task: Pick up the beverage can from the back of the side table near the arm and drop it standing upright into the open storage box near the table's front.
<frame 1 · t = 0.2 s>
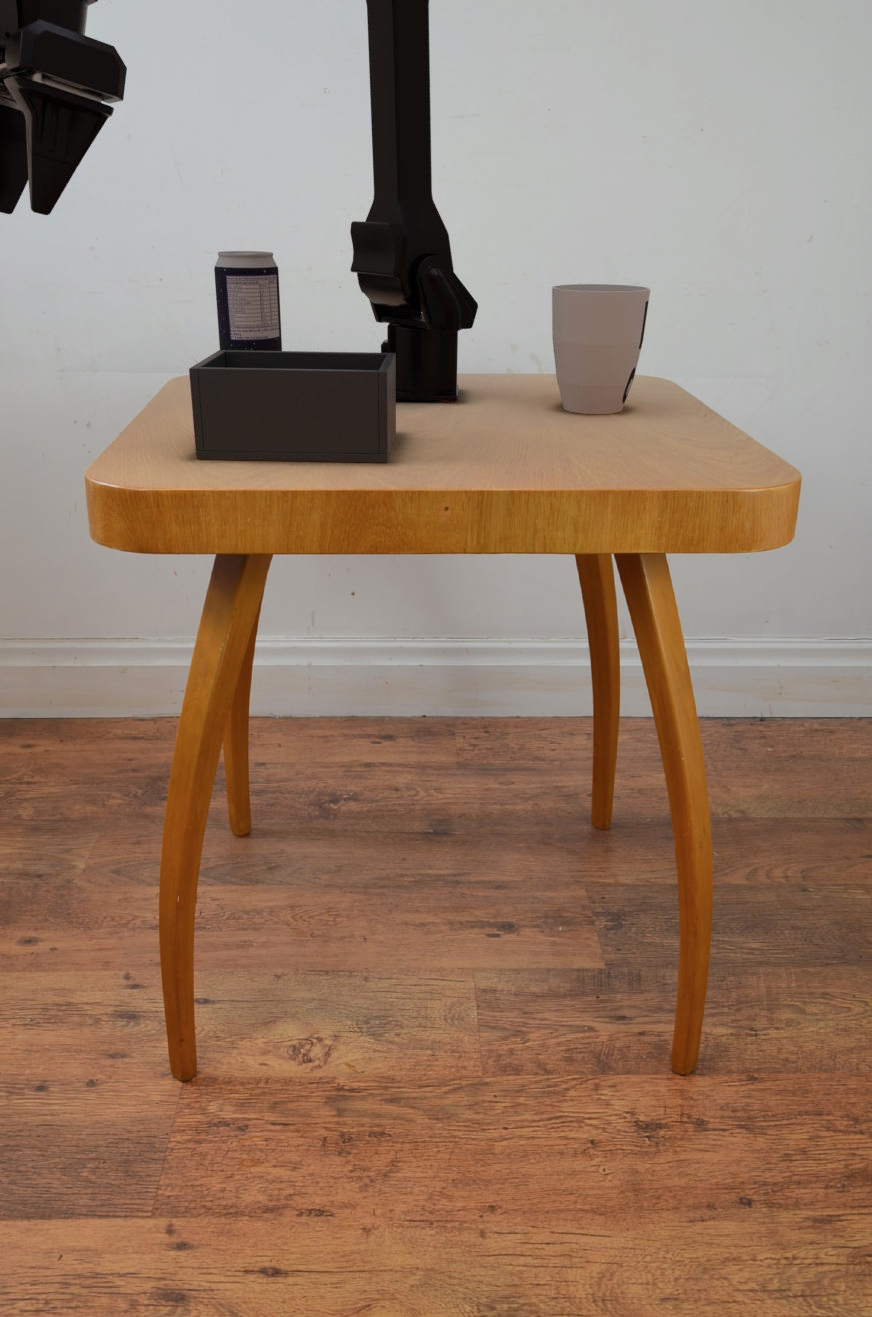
hand: (20, 213, 70), 15 cm above the table, tool pointing down, fingers open, 9 cm apart
beverage can: (253, 391, 98), on the table
open storage box: (301, 446, 76), on the table
cup: (592, 411, 91), on the table
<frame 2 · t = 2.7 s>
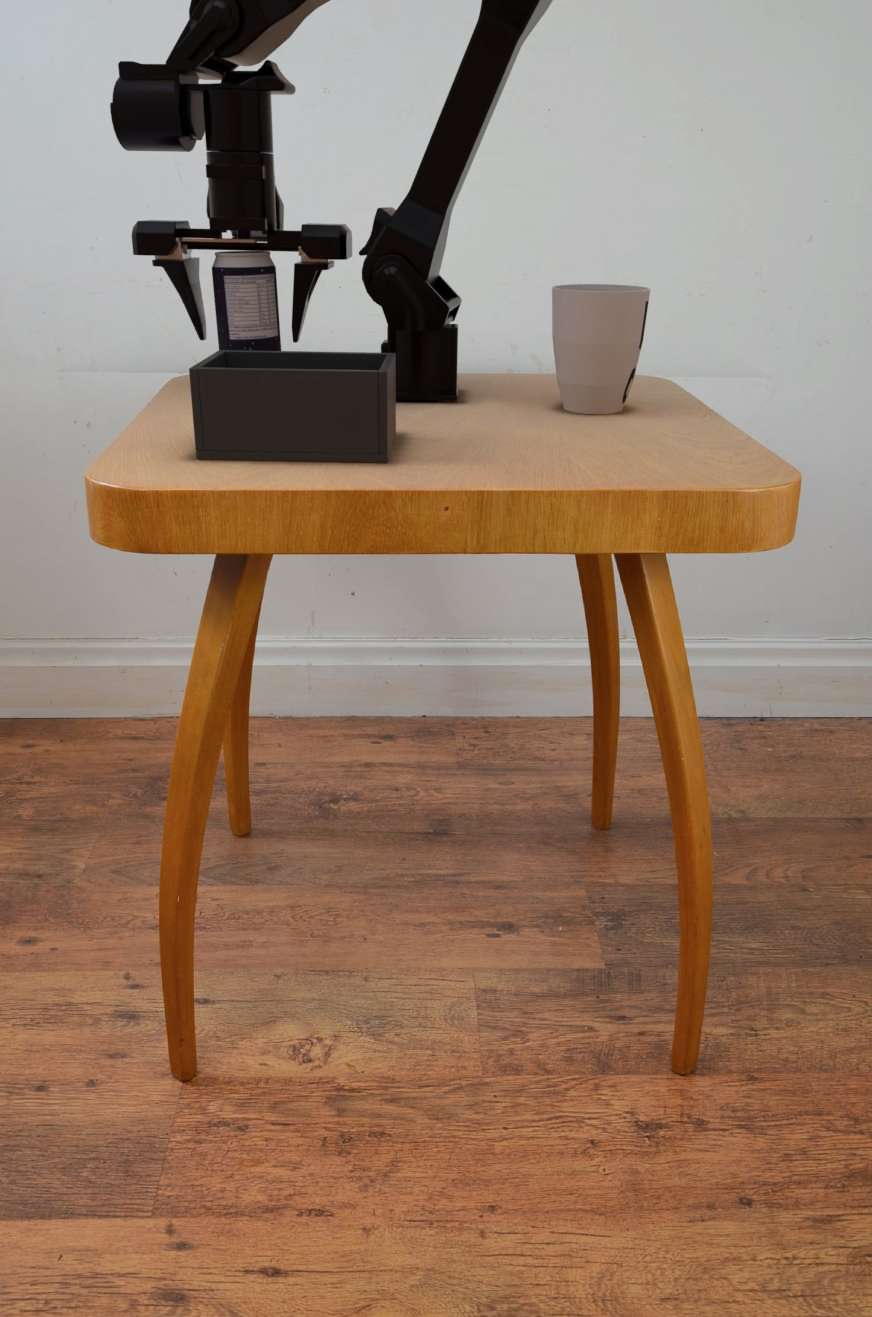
hand: (249, 340, 96), 4 cm above the table, tool pointing down
beverage can: (253, 391, 98), on the table, touching gripper
everything else where it was.
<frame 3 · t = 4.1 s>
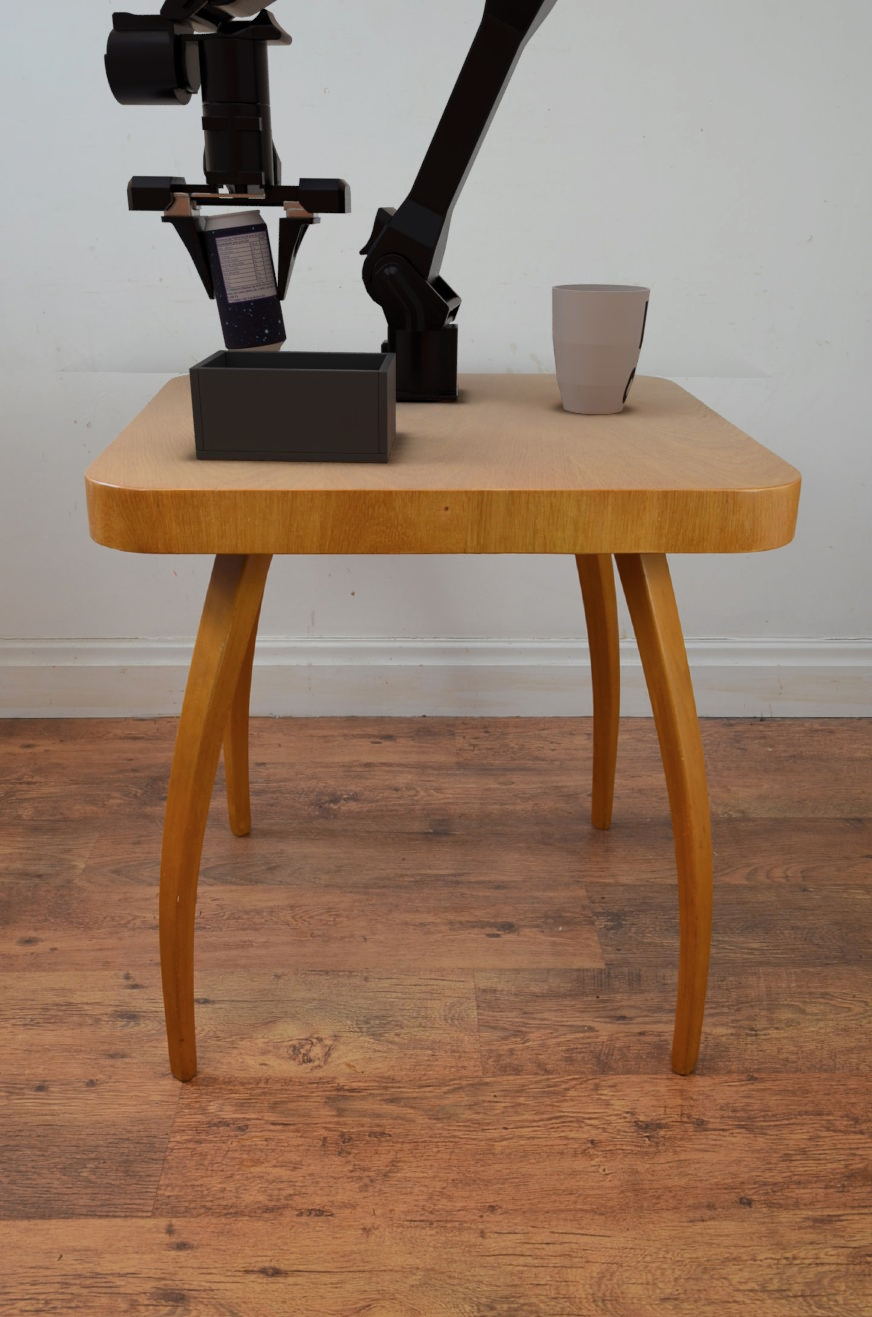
hand: (247, 299, 94), 8 cm above the table, tool pointing down, fingers closed on beverage can, 6 cm apart
beverage can: (258, 355, 96), point 3 cm above the table, touching gripper
everything else where it was.
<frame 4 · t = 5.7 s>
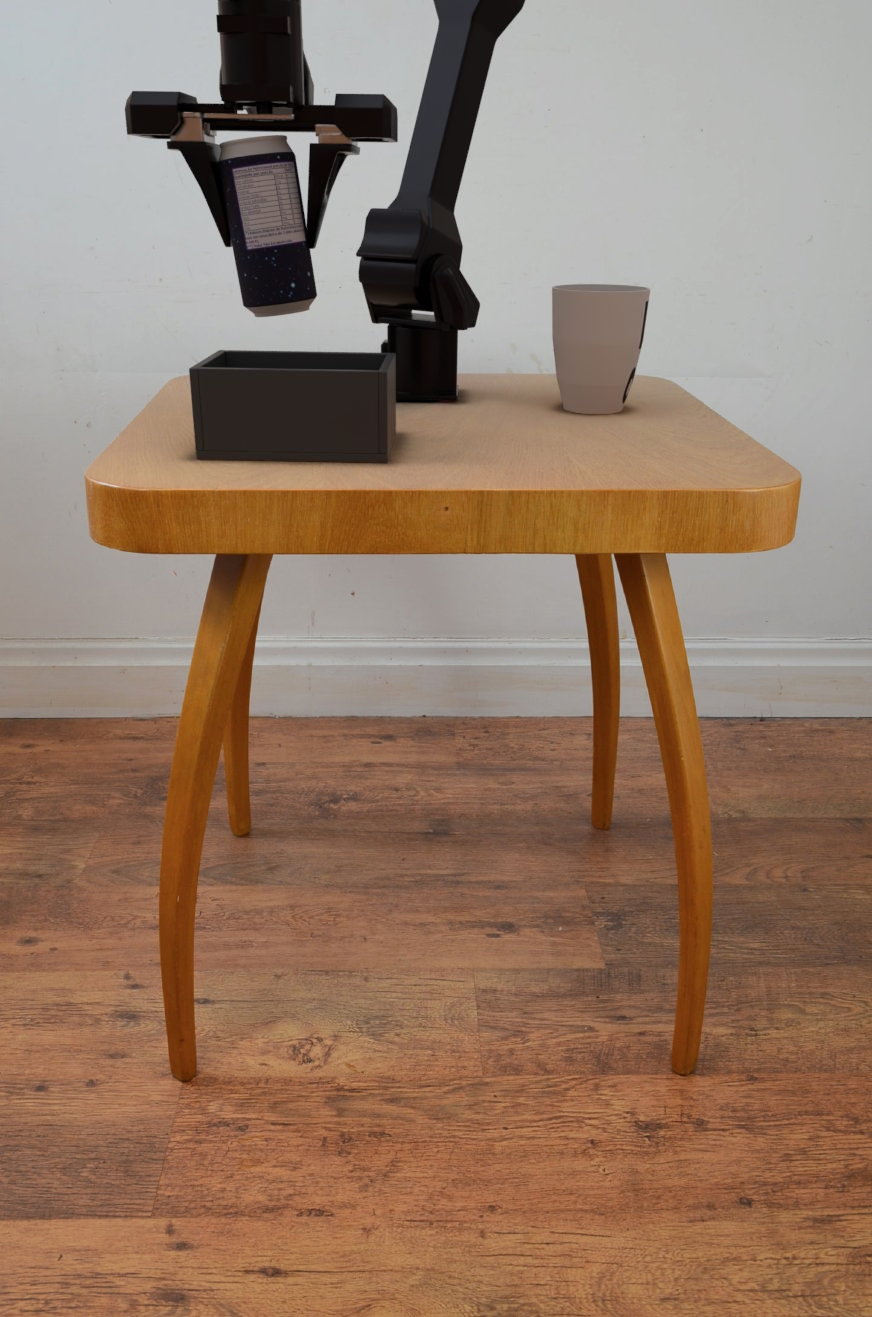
hand: (270, 247, 78), 13 cm above the table, tool pointing down, fingers closed on beverage can, 6 cm apart
beverage can: (282, 315, 80), point 8 cm above the table, touching gripper
everything else where it was.
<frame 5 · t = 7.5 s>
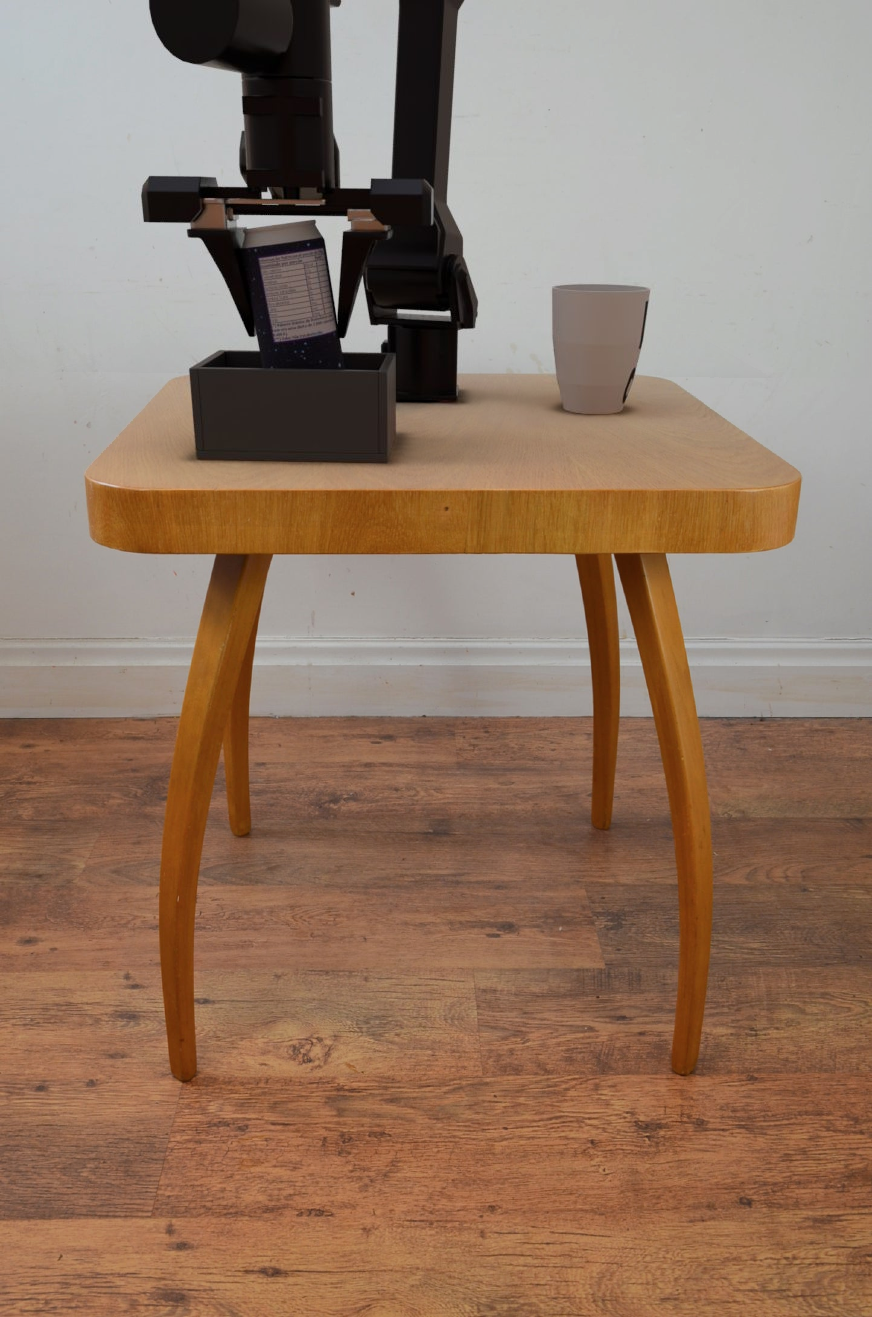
hand: (297, 336, 73), 8 cm above the table, tool pointing down, fingers closed on beverage can, 6 cm apart
beverage can: (310, 407, 74), point 3 cm above the table, touching gripper
everything else where it was.
when the fingers open (6 cm above the table, at t = 8.7 s): beverage can stays where it is, resting on open storage box.
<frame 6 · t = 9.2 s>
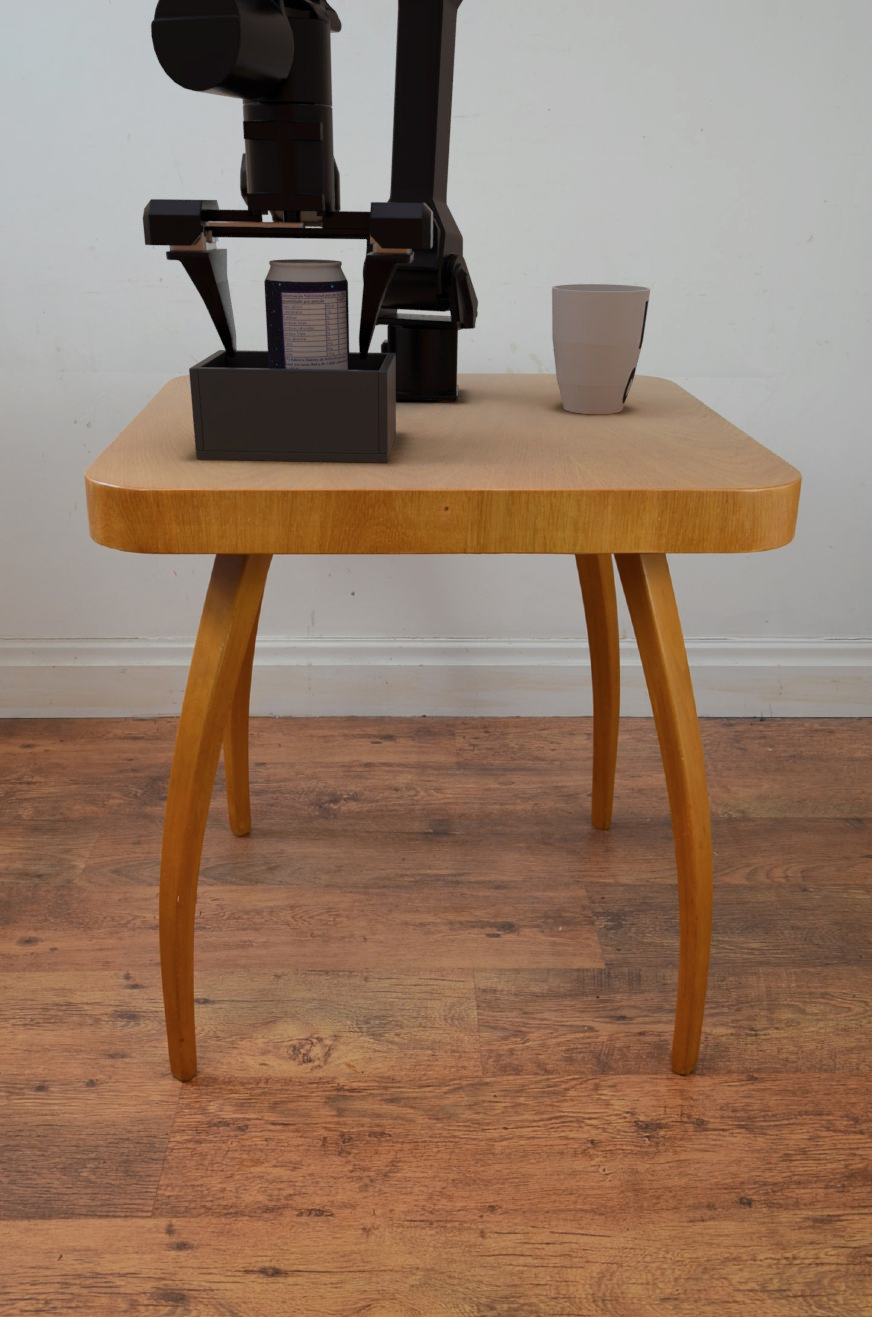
hand: (297, 357, 73), 6 cm above the table, tool pointing down, fingers open, 9 cm apart
beverage can: (311, 440, 75), resting on open storage box
everything else where it was.
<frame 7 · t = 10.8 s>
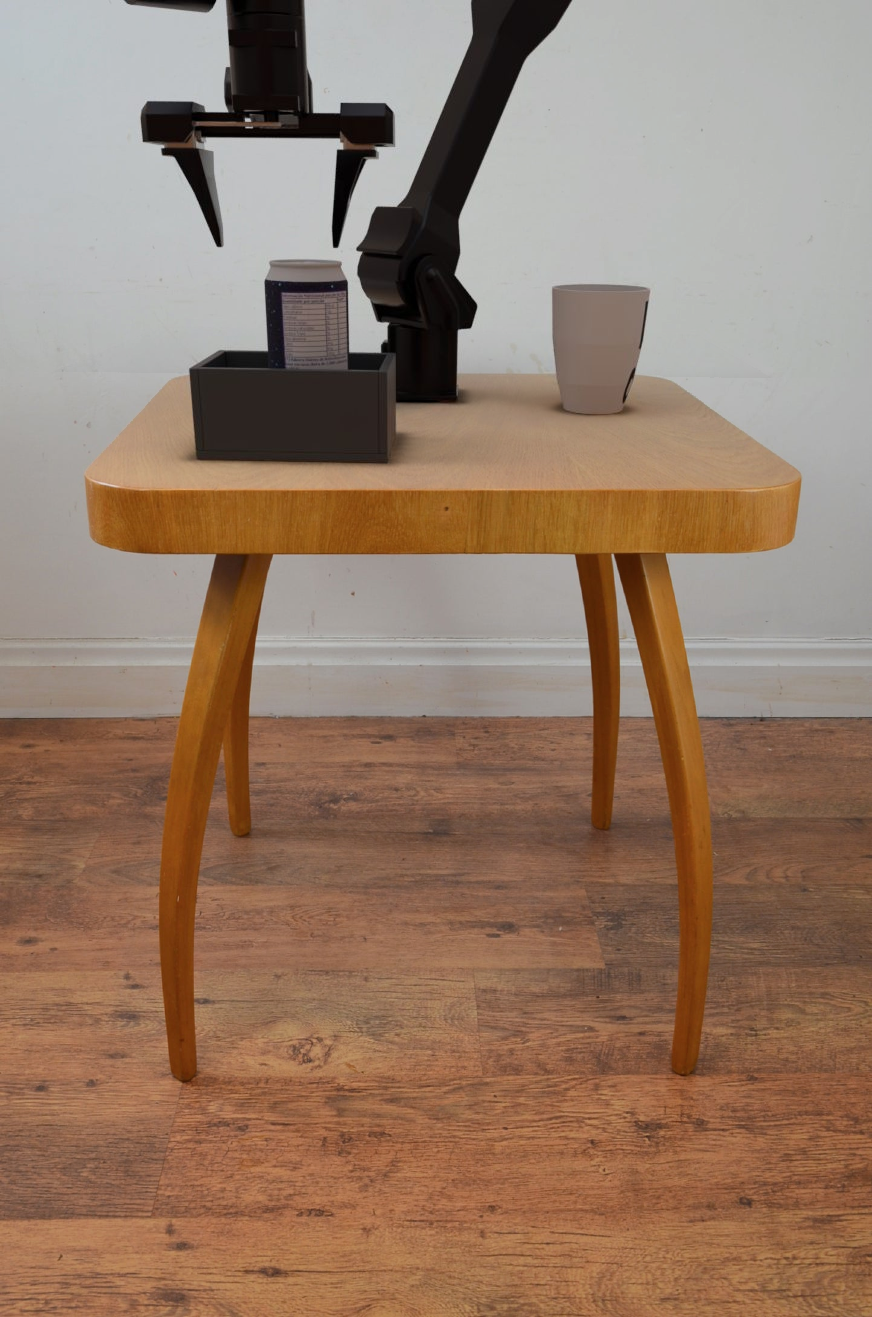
hand: (278, 247, 83), 13 cm above the table, tool pointing down, fingers open, 9 cm apart
nothing on the table moved.
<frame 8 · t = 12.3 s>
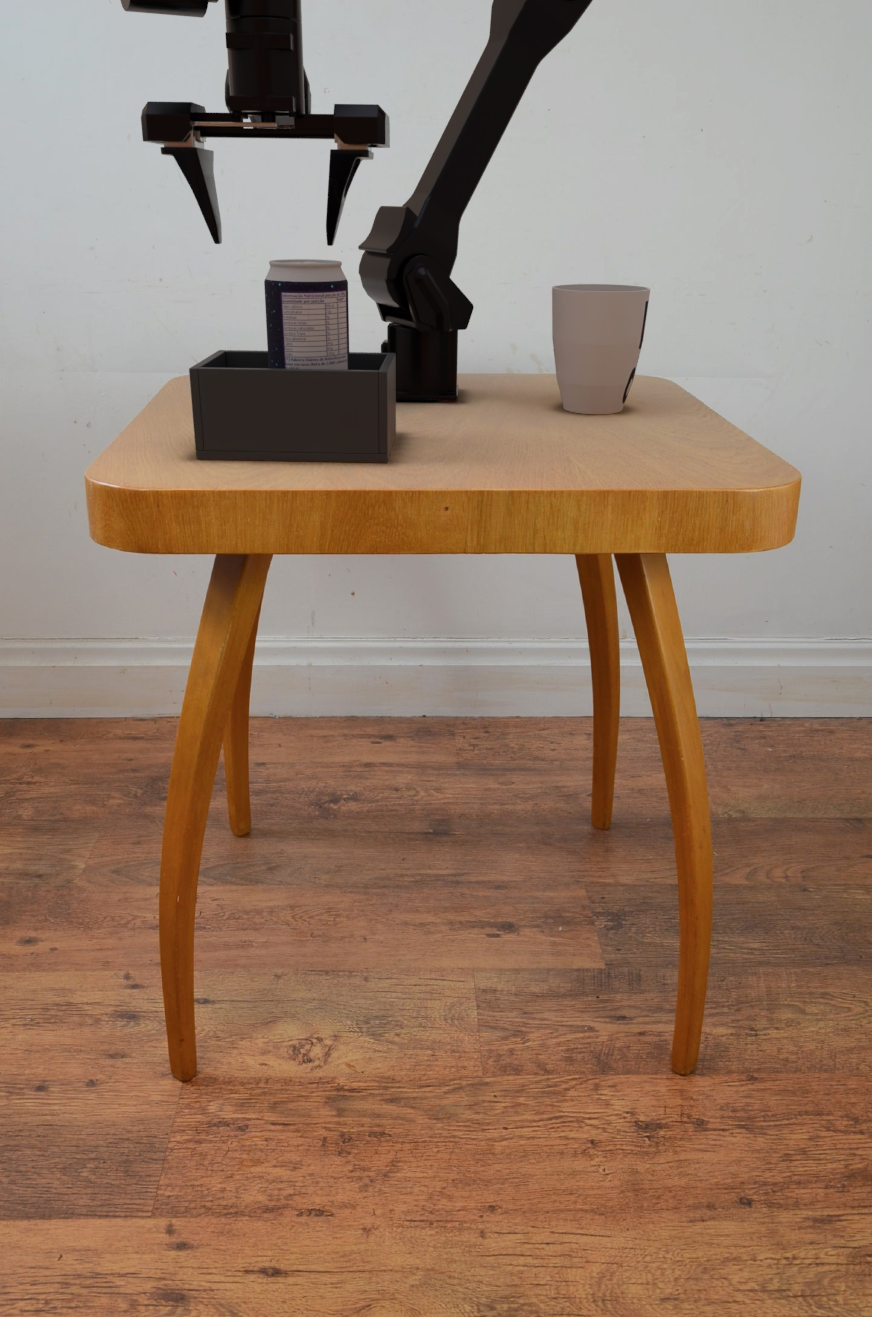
hand: (274, 244, 85), 13 cm above the table, tool pointing down, fingers open, 9 cm apart
nothing on the table moved.
at the end: beverage can inside the target area in the open storage box (0.8 cm from its centre), point 0.4 cm above the open storage box's base; beverage can tilted 0°; the gripper is holding nothing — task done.
